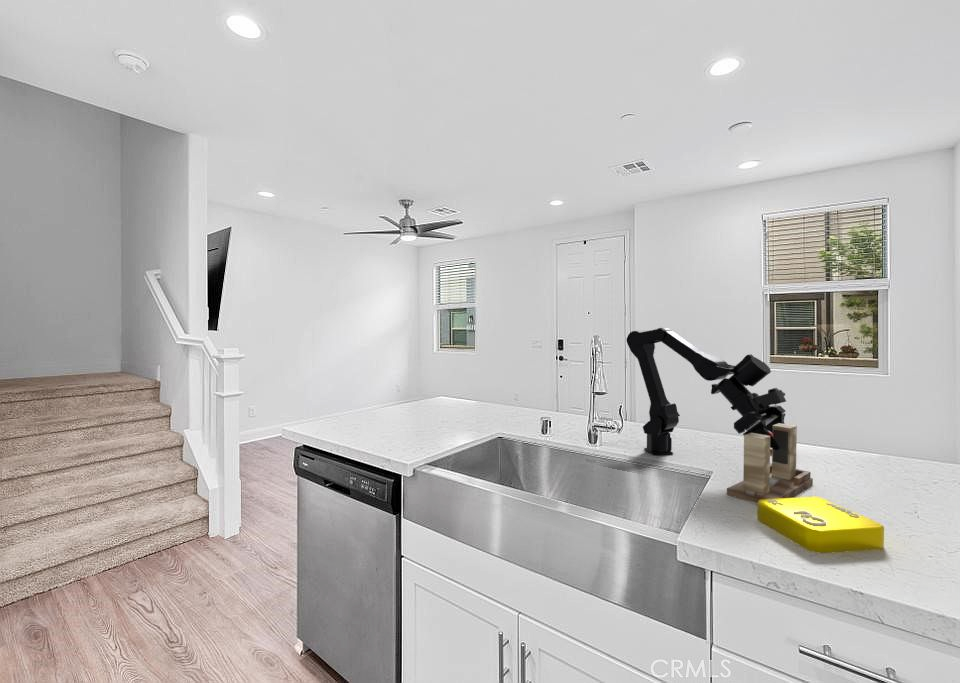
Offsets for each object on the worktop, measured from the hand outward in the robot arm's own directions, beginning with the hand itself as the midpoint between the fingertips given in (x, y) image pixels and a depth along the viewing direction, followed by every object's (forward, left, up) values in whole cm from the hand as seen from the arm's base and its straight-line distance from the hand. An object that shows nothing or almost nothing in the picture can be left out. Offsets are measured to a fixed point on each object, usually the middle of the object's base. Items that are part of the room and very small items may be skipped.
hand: (785, 446), depth 113 cm
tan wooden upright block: (0, +1, -8) cm, 8 cm away
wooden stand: (-7, -3, -9) cm, 12 cm away
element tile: (-15, -25, -10) cm, 31 cm away
